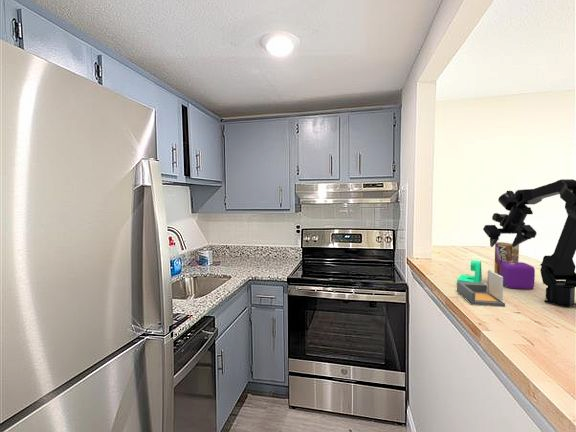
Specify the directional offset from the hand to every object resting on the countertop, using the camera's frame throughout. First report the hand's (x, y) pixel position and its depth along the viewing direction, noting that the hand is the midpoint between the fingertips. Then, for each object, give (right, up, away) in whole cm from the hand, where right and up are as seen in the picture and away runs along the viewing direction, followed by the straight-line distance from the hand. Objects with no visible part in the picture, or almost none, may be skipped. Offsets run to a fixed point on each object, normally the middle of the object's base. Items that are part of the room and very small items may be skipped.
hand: (502, 246), depth 136 cm
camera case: (-25, -16, -24) cm, 38 cm away
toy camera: (0, -16, -8) cm, 17 cm away
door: (-21, -15, -26) cm, 37 cm away
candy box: (+8, -15, +8) cm, 18 cm away
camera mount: (-17, -16, -5) cm, 24 cm away
